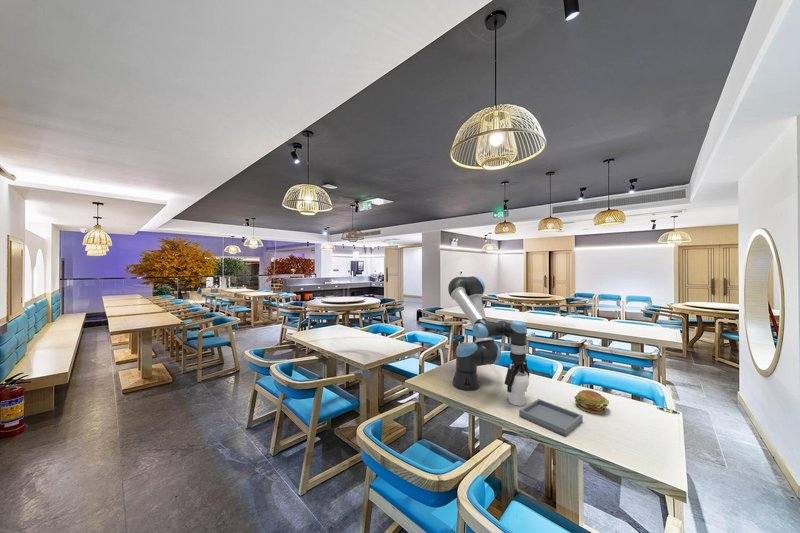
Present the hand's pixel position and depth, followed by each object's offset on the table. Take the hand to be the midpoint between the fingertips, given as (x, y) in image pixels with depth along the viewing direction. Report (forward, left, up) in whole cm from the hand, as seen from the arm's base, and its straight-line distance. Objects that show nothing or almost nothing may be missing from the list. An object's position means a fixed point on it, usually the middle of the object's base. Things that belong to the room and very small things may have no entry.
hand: (517, 394), depth 152 cm
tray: (+18, -3, -4) cm, 19 cm away
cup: (0, 0, -4) cm, 4 cm away
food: (+26, +23, -4) cm, 35 cm away
